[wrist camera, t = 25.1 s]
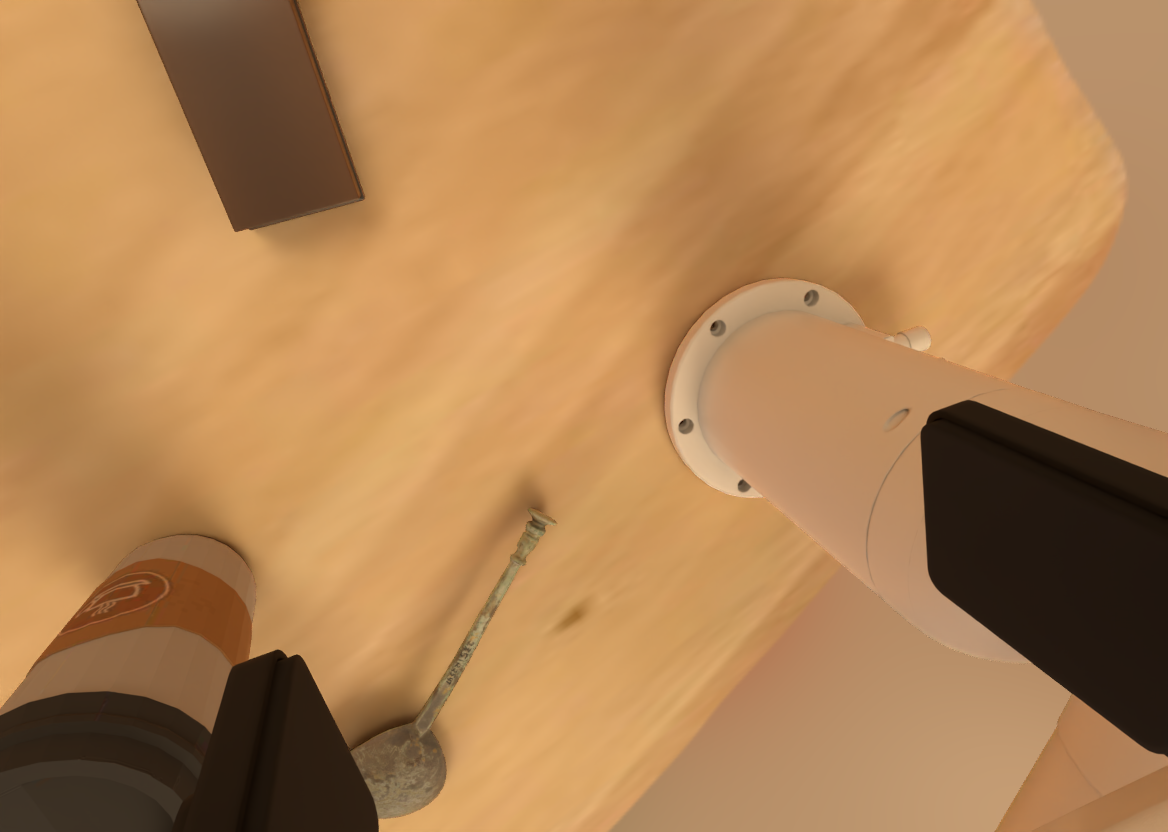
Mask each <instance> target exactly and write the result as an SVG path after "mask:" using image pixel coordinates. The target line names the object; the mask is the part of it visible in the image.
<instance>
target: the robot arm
mask: <svg viewBox="0 0 1168 832" xmlns="http://www.w3.org/2000/svg"><path fill="white" fill-rule="evenodd" d="M805 295H806V297H805ZM713 323H715V326H714V327H713V328H712V329H711V325H712V324H713ZM930 346H931V337H930V334H929V332H928V331H927V329H926V328H924V327H923V326H917V327H914V328H911V329H908V330H905V331H902V332H899V333H897V335H894V336H891V335H888V334H885V333H882V332H879V331H876V330H873V329H870V328H867V327H866V326H865V324H864V322H863V320H862V318H861V317H860V316H859V314H858V313H857V312H856V310H855V309H854V308H853V306H852V305H851V304H850V303H848V302H847V301H846V300H845V299H844V298H842V297H841V296H840V295H839V294H838V293H836V292H834V291H832V290H830V289H828V288H826V287H824V286H822V285H819V284H815V283H812V282H808V281H805V280H799V279H790V278H777V279H767V280H761V281H758V282H755V283H752V284H749V285H745V286H743V287H741V288H739V289H737V290H735V291H733V292H731V293H730V294H728V295H726V296H724V297H723V298H721V299H720V300H719V301H718V302H716V303H715V304H714V305H713V306H711V307H710V308H709V309H708V310H706V311H705V312H704V314H703V315H702V316H701V317H700V318H699V319H698V320H697V321H696V322H695V324H694V325H693V326H692V327H691V328H690V330H689V331H688V333H687V335H686V336H685V338H684V339H683V341H682V343H681V344H680V346H679V347H678V350H677V352H676V355H675V357H674V359H673V362H672V364H671V367H670V370H669V374H668V379H667V383H666V388H665V408H664V411H665V417H666V424H667V430H668V433H669V435H670V438H671V441H672V443H673V446H674V448H675V450H676V451H677V453H678V455H679V456H680V458H681V459H682V461H683V462H684V464H685V465H686V466H687V467H688V468H689V469H690V470H691V471H692V472H693V473H694V474H695V475H696V476H697V477H699V478H700V479H701V480H703V481H704V482H705V483H706V484H708V485H709V486H710V487H713V488H715V489H717V490H719V491H721V492H724V493H726V494H729V495H733V496H738V497H743V498H763V497H764V498H765V499H767V500H768V501H769V502H770V503H771V504H772V505H773V506H775V507H776V508H777V509H778V510H779V511H780V512H782V513H783V514H784V515H785V516H786V517H787V518H789V519H790V520H791V521H792V522H793V523H794V524H795V525H797V526H798V527H799V528H800V529H801V530H802V531H804V532H805V533H806V534H807V535H808V536H809V537H811V538H812V539H813V540H814V541H815V542H816V543H817V544H819V545H820V546H821V547H822V548H823V549H824V550H826V551H827V552H828V553H829V554H830V555H831V556H833V557H834V558H835V559H836V560H837V561H838V562H839V563H841V564H842V565H843V566H845V568H846V569H848V570H849V571H850V572H851V573H852V574H853V575H855V576H856V577H857V578H858V579H859V580H860V581H861V582H863V583H864V584H865V585H866V586H867V587H869V588H870V589H871V590H872V591H873V592H874V593H875V594H877V595H878V596H879V597H880V598H881V599H882V600H884V601H885V602H886V603H887V604H888V605H889V606H891V608H893V609H894V610H895V611H896V612H897V613H899V614H900V615H901V616H902V617H903V618H904V619H905V620H907V621H908V622H909V623H910V624H912V625H913V626H914V627H915V628H917V629H918V630H919V631H921V632H922V633H924V634H925V635H927V636H928V637H929V638H931V639H933V640H935V641H936V642H938V643H940V644H942V645H944V646H946V647H948V648H950V649H952V650H955V651H958V652H961V653H964V654H966V655H970V656H972V657H976V658H981V659H985V660H992V661H999V662H1006V663H1022V664H1034V665H1036V666H1037V667H1038V668H1040V669H1041V670H1042V671H1043V672H1045V673H1046V674H1047V675H1049V676H1050V677H1051V678H1052V679H1054V680H1055V681H1056V682H1058V683H1059V684H1060V685H1062V686H1063V687H1064V688H1066V689H1067V690H1068V691H1069V692H1071V693H1072V695H1071V697H1070V699H1069V700H1068V702H1067V704H1066V706H1065V708H1064V710H1063V712H1062V713H1061V716H1060V717H1059V719H1058V725H1057V727H1056V729H1055V731H1054V732H1053V734H1052V736H1051V737H1050V739H1049V741H1048V742H1047V744H1046V746H1045V747H1044V749H1043V751H1042V753H1041V754H1040V756H1039V758H1038V760H1037V761H1036V763H1035V764H1034V766H1033V768H1032V770H1031V771H1030V773H1029V775H1028V776H1027V778H1026V780H1025V781H1024V783H1023V785H1022V786H1021V788H1020V790H1019V792H1018V793H1017V795H1016V797H1015V798H1014V800H1013V802H1012V803H1011V805H1010V807H1009V808H1008V810H1007V812H1006V814H1005V815H1004V817H1003V819H1002V820H1001V822H1000V824H999V825H998V827H997V829H996V830H995V832H1168V433H1165V432H1162V431H1158V430H1155V429H1152V428H1148V427H1145V426H1142V425H1139V424H1135V423H1132V422H1129V421H1125V420H1122V419H1119V418H1116V417H1113V416H1109V415H1106V414H1103V413H1099V412H1096V411H1094V410H1090V409H1088V408H1084V407H1081V406H1078V405H1075V404H1073V403H1070V402H1066V401H1064V400H1060V399H1058V398H1055V397H1052V396H1049V395H1046V394H1043V393H1040V392H1037V391H1033V390H1030V389H1027V388H1024V387H1021V386H1019V385H1015V384H1013V383H1010V382H1007V381H1004V380H1001V379H998V378H995V377H993V376H990V375H987V374H984V373H981V372H978V371H975V370H972V369H969V368H967V367H964V366H961V365H958V364H955V363H952V362H949V361H947V360H945V359H944V358H938V357H935V356H932V355H929V354H926V353H923V352H922V351H925V350H927V349H928V348H929V347H930ZM682 420H683V423H682V424H680V422H681V421H682ZM679 424H680V425H679ZM171 832H379V825H378V815H377V810H376V806H375V802H374V799H373V797H372V794H371V792H370V790H369V788H368V786H367V784H366V782H365V780H364V778H363V776H362V774H361V772H360V770H359V768H358V766H357V764H356V762H355V760H354V758H353V756H352V754H351V752H350V751H349V749H348V747H347V745H346V743H345V741H344V739H343V737H342V735H341V733H340V731H339V729H338V727H337V725H336V723H335V721H334V719H333V717H332V715H331V713H330V711H329V709H328V707H327V705H326V703H325V701H324V699H323V697H322V695H321V693H320V691H319V689H318V687H317V685H316V683H315V681H314V679H313V677H312V675H311V673H310V671H309V669H308V667H307V665H306V663H305V662H304V660H303V658H302V657H301V656H300V655H294V656H291V657H289V658H287V656H286V655H285V654H284V653H283V652H282V651H281V650H275V651H272V652H270V653H267V654H264V655H261V656H259V657H256V658H253V659H250V660H248V661H245V662H242V663H239V664H237V665H235V666H233V667H232V669H231V671H230V673H229V676H228V679H227V683H226V686H225V690H224V693H223V696H222V700H221V703H220V707H219V710H218V714H217V717H216V720H215V724H214V727H213V731H212V734H211V737H210V741H209V744H208V748H207V751H206V755H205V758H204V761H203V765H202V768H201V772H200V775H199V778H198V782H197V785H196V789H195V792H194V794H191V795H189V796H188V797H187V798H186V799H185V800H184V801H183V802H182V804H181V806H180V808H179V811H178V813H177V815H176V818H175V822H174V825H173V828H172V831H171Z"/></svg>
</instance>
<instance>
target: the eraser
mask: <svg viewBox="0 0 1168 832" xmlns="http://www.w3.org/2000/svg"><path fill="white" fill-rule="evenodd" d="M136 1H137V3H138V6H139V8H140V10H141V13H142V15H143V17H144V20H145V22H146V24H147V27H148V29H149V31H150V34H151V36H152V38H153V41H154V43H155V46H156V48H157V50H158V53H159V55H160V57H161V60H162V62H163V64H164V67H165V69H166V71H167V74H168V76H169V78H170V81H171V83H172V86H173V88H174V90H175V93H176V95H177V97H178V100H179V102H180V104H181V107H182V109H183V111H184V114H185V116H186V118H187V121H188V123H189V126H190V128H191V130H192V133H193V135H194V137H195V140H196V142H197V144H198V147H199V149H200V151H201V154H202V156H203V158H204V161H205V163H206V166H207V168H208V170H209V173H210V175H211V177H212V180H213V182H214V184H215V187H216V189H217V191H218V194H219V196H220V198H221V201H222V203H223V206H224V208H225V210H226V213H227V215H228V217H229V220H230V222H231V224H232V227H233V229H234V231H235V232H238V231H242V230H246V229H249V230H254V229H257V228H261V227H265V226H268V225H272V224H276V223H280V222H283V221H287V220H291V219H295V218H298V217H302V216H306V215H310V214H313V213H317V212H321V211H325V210H328V209H332V208H336V207H340V206H343V205H347V204H351V203H354V202H358V201H362V200H364V199H365V196H364V193H363V190H362V187H361V184H360V181H359V178H358V176H357V173H356V170H355V167H354V164H353V161H352V158H351V155H350V153H349V150H348V147H347V144H346V141H345V138H344V135H343V132H342V130H341V127H340V124H339V121H338V118H337V115H336V112H335V109H334V106H333V104H332V101H331V98H330V95H329V92H328V89H327V86H326V83H325V81H324V78H323V75H322V72H321V69H320V66H319V63H318V60H317V58H316V55H315V52H314V49H313V46H312V43H311V40H310V37H309V34H308V32H307V29H306V26H305V23H304V20H303V17H302V14H301V11H300V9H299V6H298V3H297V0H136Z"/></svg>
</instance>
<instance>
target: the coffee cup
mask: <svg viewBox="0 0 1168 832" xmlns="http://www.w3.org/2000/svg"><path fill="white" fill-rule="evenodd" d="M255 602H256V584H255V581H254V578H253V574H252V571H251V570H250V569H249V567H248V566H247V564H246V563H245V562H244V560H243V559H242V558H241V557H240V555H238V554H237V553H236V552H235V551H233V550H232V549H231V548H230V547H229V546H227V545H225V544H223V543H221V542H219V541H217V540H214V539H212V538H207V537H203V536H198V535H175V536H171V537H166V538H161V539H156V540H153V541H151V542H149V543H147V544H144V545H142V546H140V547H138V548H136V549H135V550H134V551H133V552H131V553H130V554H129V555H127V556H126V557H125V558H124V559H123V560H122V561H121V562H120V564H119V565H118V566H117V567H116V568H115V570H114V571H113V572H112V573H111V575H110V576H109V577H108V578H107V579H106V581H104V582H103V583H102V584H101V585H100V586H99V587H97V588H96V590H95V591H94V592H93V593H92V594H91V596H90V597H89V598H88V599H87V600H86V602H85V603H84V604H83V605H82V606H81V608H80V609H79V610H78V611H77V612H76V614H75V615H74V616H73V617H72V618H71V620H70V621H69V622H68V623H67V625H66V626H65V627H64V628H63V629H62V631H61V632H60V633H59V634H58V635H57V637H56V638H55V639H54V640H53V641H52V643H51V644H50V645H49V646H48V647H47V649H46V650H45V651H44V652H43V653H42V655H41V656H40V657H39V658H38V659H37V661H36V662H35V663H34V665H33V666H32V668H31V669H30V671H29V672H28V674H27V676H26V678H25V679H24V681H23V682H22V683H21V684H20V686H19V687H18V688H17V689H16V690H15V692H14V693H13V694H12V695H11V697H10V698H9V699H8V700H7V701H6V703H5V704H4V705H3V706H2V707H1V709H0V832H171V831H172V828H173V825H174V822H175V818H176V815H177V813H178V811H179V808H180V806H181V804H182V802H183V801H184V800H185V799H186V798H187V797H188V796H189V795H191V794H194V792H195V789H196V785H197V782H198V778H199V775H200V772H201V768H202V765H203V761H204V758H205V755H206V751H207V748H208V744H209V741H210V737H211V734H212V731H213V727H214V724H215V720H216V717H217V714H218V710H219V707H220V703H221V700H222V696H223V693H224V690H225V686H226V683H227V679H228V676H229V673H230V671H231V669H232V667H233V666H235V665H237V664H239V663H242V662H245V661H248V659H249V652H250V645H251V637H252V621H253V615H254V609H255Z"/></svg>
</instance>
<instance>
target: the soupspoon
mask: <svg viewBox="0 0 1168 832" xmlns="http://www.w3.org/2000/svg"><path fill="white" fill-rule="evenodd" d="M528 511H529V512H530V514H531V515H532V518H533V520H532V521H528V522H527V523H526V532H524V533H523V535H522V537H521V538H520V540H519V542H518V544H517V551H516V553H514V554H512V555H511V556H510V563H509V565H508V566H507V568H506V570H505V571H504V573H503V575H502V576H501V578H500V579H499V581H498V583H497V585H496V586H495V588H494V590H493V591H492V593H491V595H490V596H489V598H488V600H487V601H486V603H485V605H484V606H483V608H482V610H481V611H480V613H479V615H478V617H477V618H476V620H475V622H474V624H473V625H472V627H471V629H470V631H469V632H468V634H467V636H466V638H465V639H464V641H463V643H462V645H461V647H460V648H459V650H458V652H457V654H456V656H455V657H454V659H453V661H452V662H451V664H450V666H449V668H448V669H447V671H446V673H445V674H444V676H443V677H442V679H441V680H440V682H439V684H438V685H437V687H436V688H435V690H434V691H433V693H432V695H431V696H430V698H429V699H428V701H427V702H426V704H425V705H424V707H423V709H422V710H421V712H420V713H419V715H418V716H417V718H416V719H415V721H414V722H412V723H409V724H405V725H402V726H398V727H395V728H392V729H389V730H387V731H385V732H383V733H381V734H378V735H376V736H375V737H373V738H371V739H369V740H368V741H366V742H365V743H363V744H361V745H359V746H357V747H356V748H354V749H353V750H351V751H350V752H351V754H352V756H353V758H354V760H355V762H356V764H357V766H358V768H359V770H360V772H361V774H362V776H363V778H364V780H365V782H366V784H367V786H368V788H369V790H370V792H371V794H372V797H373V799H374V802H375V806H376V810H377V815H378V819H387V818H396V817H401V816H405V815H408V814H411V813H413V812H416V811H418V810H420V809H422V808H423V807H425V806H426V805H428V804H429V803H430V802H432V801H433V800H434V799H435V798H436V797H437V796H438V794H439V793H440V791H441V790H442V788H443V786H444V783H445V779H446V762H445V757H444V754H443V751H442V748H441V746H440V744H439V742H438V740H437V739H436V737H435V736H434V734H433V733H432V731H431V730H430V728H431V726H432V724H433V722H434V720H435V718H436V717H437V715H438V714H439V712H440V710H441V708H442V707H443V706H444V704H445V702H446V700H447V698H448V697H449V695H450V693H451V691H452V690H453V688H454V686H455V684H456V683H457V682H458V679H459V677H460V676H461V674H462V672H463V671H464V669H465V666H466V665H467V663H468V662H469V660H470V658H471V657H472V653H473V652H474V650H475V649H476V647H477V645H478V643H479V641H480V639H481V637H482V635H483V633H484V632H485V630H486V628H487V626H488V624H489V622H490V620H491V618H492V617H493V615H494V613H495V611H496V609H497V608H498V606H499V604H500V602H501V601H502V599H503V597H504V595H505V594H506V592H507V590H508V588H509V586H510V584H511V582H512V581H513V579H514V577H515V575H516V573H517V571H518V569H519V568H520V567H521V566H524V565H526V556H527V555H528V554H529V553H530V552H531V551H533V549H534V548H535V546H536V545H537V543H538V541H539V538H540V537H541V536H543V535H544V534H545V525H556V524H557V523H556V521H555V520H553V519H552V518H551V517H549V516H547V515H545V514H543V513H541V512H540V511H538V510H536V509H533V508H529V509H528Z"/></svg>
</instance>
